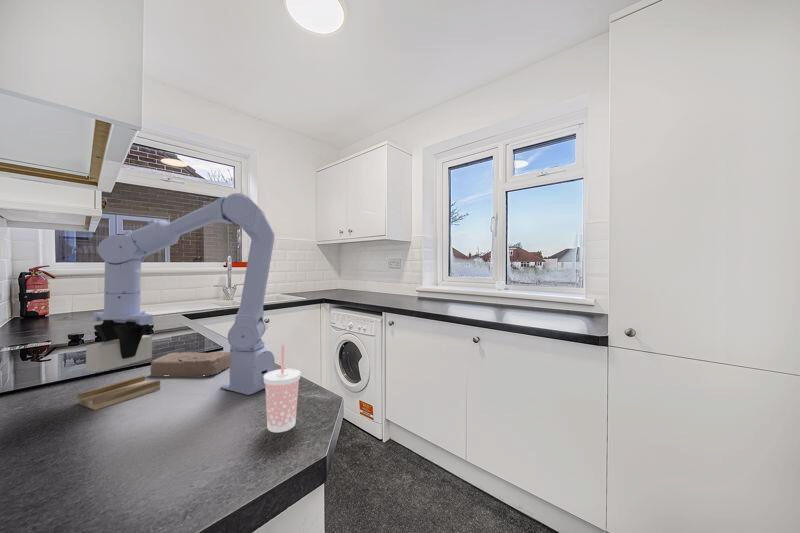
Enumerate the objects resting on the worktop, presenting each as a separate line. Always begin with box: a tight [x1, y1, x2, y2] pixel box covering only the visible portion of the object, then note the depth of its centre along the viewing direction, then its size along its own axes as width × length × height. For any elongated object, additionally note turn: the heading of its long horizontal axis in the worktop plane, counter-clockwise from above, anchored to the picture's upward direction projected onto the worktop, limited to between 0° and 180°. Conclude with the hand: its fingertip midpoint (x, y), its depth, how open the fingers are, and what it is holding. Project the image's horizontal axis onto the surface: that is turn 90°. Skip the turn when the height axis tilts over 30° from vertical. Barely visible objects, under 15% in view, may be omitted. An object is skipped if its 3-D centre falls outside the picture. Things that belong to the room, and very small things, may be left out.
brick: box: [149, 351, 230, 377], centre depth 80 cm, size 17×8×5 cm, turn 91°
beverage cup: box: [263, 344, 302, 433], centre depth 53 cm, size 6×6×14 cm
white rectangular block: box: [85, 334, 153, 373], centre depth 64 cm, size 10×4×5 cm, turn 165°
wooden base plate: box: [77, 375, 161, 411], centre depth 64 cm, size 7×11×2 cm, turn 156°
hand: (121, 356), depth 64 cm, fingers closed on white rectangular block, 3 cm apart
